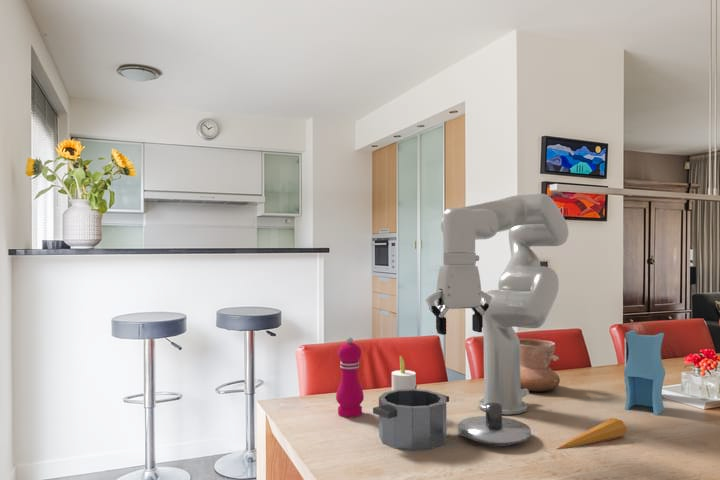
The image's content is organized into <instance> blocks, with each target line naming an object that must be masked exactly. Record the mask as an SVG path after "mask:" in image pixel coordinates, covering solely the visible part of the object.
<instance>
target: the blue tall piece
mask: <svg viewBox="0 0 720 480" xmlns="http://www.w3.org/2000/svg"><path fill="white" fill-rule="evenodd" d="M664 336H665V332H660V333H657V334H654V335H647V334H637V332H636V330H635V329H632V330H629V331H627V332H625V337H626V338H627V343H628V349H629V355H628V361H627V364H626V367H625V366H624V369H623V370H624V371H623V377H624V382H625V381H626V386H627V396H626V401H625V406H624V410H629V409H631V408H632V407H634V406H635V405H636V406H638V405H639V406H644V407H645V406H646V407H650V408H652V409H653V415H654V416H659V415H660V414H661V413H662V412H664V410H665V407H664V402H663V385H664V381H665V376H666V369H665V367H664V364H663V360H662V345H663V344H662V342H663V340H664Z"/></svg>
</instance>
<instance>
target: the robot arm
mask: <svg viewBox="0 0 720 480" xmlns="http://www.w3.org/2000/svg"><path fill="white" fill-rule="evenodd" d="M442 214H443V215H442V219H441V223H440V229H441V232H442V245H443V246H442V249H443V250H442V252H443V253H442V257H443V258H442V260H443V261H442V264H443V265H441V266H439V269H438V273H437V281H436V291H435V292H434V293H433V294H431V295H430V296H427V297H426V298H425V301H426V305H427V306H428V309H429V310H430V312H431V313H432V314H433V315H434V316H435V328H436V333H437V334H439V335H442V336H446V335H447V317H445V315H446V314H447V313H448V311H449V310H462V309H463V310H464V309H471V310H472V312H473V313H472V315H471V317H472V318H471V319H472V325H471V326H472V327H471V328H472V329H471V330H472V331H473V332H475V333H476V332H477V333H482V334H483V391H484V392H483V397H484V398H482V399H479V401H478V408H479V409H480V410H482V411H484V412H486V403H499V404H501V405H502V415H519V414H523V413H525V412H526V411H527V410H528V405H527V403H526V402H524V401H523V398H524V397H526V396H529V394H530V391H529V390H528V389H526V388H525V389H521V374H520V341H519V339H520V338H519V337H518V335H517V333H516V331H515V330H514V327H515V328H523V329H524V328H525V329H526V328H527V329H537V328H541V327H542V326H543V325H544V324H545V322H546V320H547V319H548V317H549V314H550V311H551V309H552V307H553V305H554V303H555V301H556V299H557V295H558V293H559V277H558V273H556V271H555V270H554V269H553V268H551V267H549V266H542V265H541V261H540V258H539V257H538V255H537V254H536V253H535V252H534V251H533V250H532V249H531V247H559V246H562V245H564V244H565V243H566V242H567V240H568V238H569V226H568V222H567V221H566V219H565V216H564V215H563V213H562V212H561V210H560V208H559V206H558V205H557V204H556V202H555V201H554V199H553V198H552V197H551V196H550V195H548V194H546V193H535V194H534V193H532V194H519V195H518V194H517V195H516V194H515V195H511V196H507V197H505V198H501V199H498V200H493V201H488V202H483V203H479V204H474V205H469V206H468V205H467V206H462V207H455V208H454V207H453V208H452V207H451V208H447V209H446V210H444V212H443V213H442ZM506 231H508V242H509V251H510V259H509V261H508V263H507V265H506V267H505V268H504V270H503V272H502V274H501V275H500V278H499V280H498V284H497V288H498V289H491V290H488V291H486V292H484V291H483V290H482V287H481V286H482V285H481V276H480V273H479V272H480V271H479V267H478V265H476V263H477V262H478V261H480V256H479V255H477V254H476V241H477V240H490V239H491V238H493V237H495V236H496V235H497V234H498V233H501V232H506Z"/></svg>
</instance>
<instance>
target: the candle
mask: <svg viewBox="0 0 720 480" xmlns="http://www.w3.org/2000/svg"><path fill="white" fill-rule="evenodd" d="M399 369H400V370H394V371H391V391H394V390H403V389H417V388H418V387H417V386H418V384H416V383H417V381H416V380H417V379H416V377H417V376H416V374H417V373H416V372H415V371H413V370H407V369H406V367H405V360H404V358H403V357H402V355H399Z"/></svg>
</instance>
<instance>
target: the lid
mask: <svg viewBox="0 0 720 480" xmlns="http://www.w3.org/2000/svg"><path fill="white" fill-rule="evenodd" d="M457 429H458V430H457V431H458V432H459V434H460V435H461V436H463V437H464V438H466V439H469V440H471V441H474V442H476V443H480V444H482V445H486V446H494V447H505V446H511V445H514V444H519V443H524V442H526V441H528V440H530V438H531V436H532V430H531V427H530V426H529V425H528V424H526V423H524V422H522V421H519V420H518V419H517V420H516V419H513V418H510V417H503V414H502V405H501V404H499V403H486V411H485V415H481V416H480V415H479V416H477V415H476V416H472V417H471V416H470V417H468V418H467V417H466V418H464V419H461V420H460V421H459V422H458V424H457Z"/></svg>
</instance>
